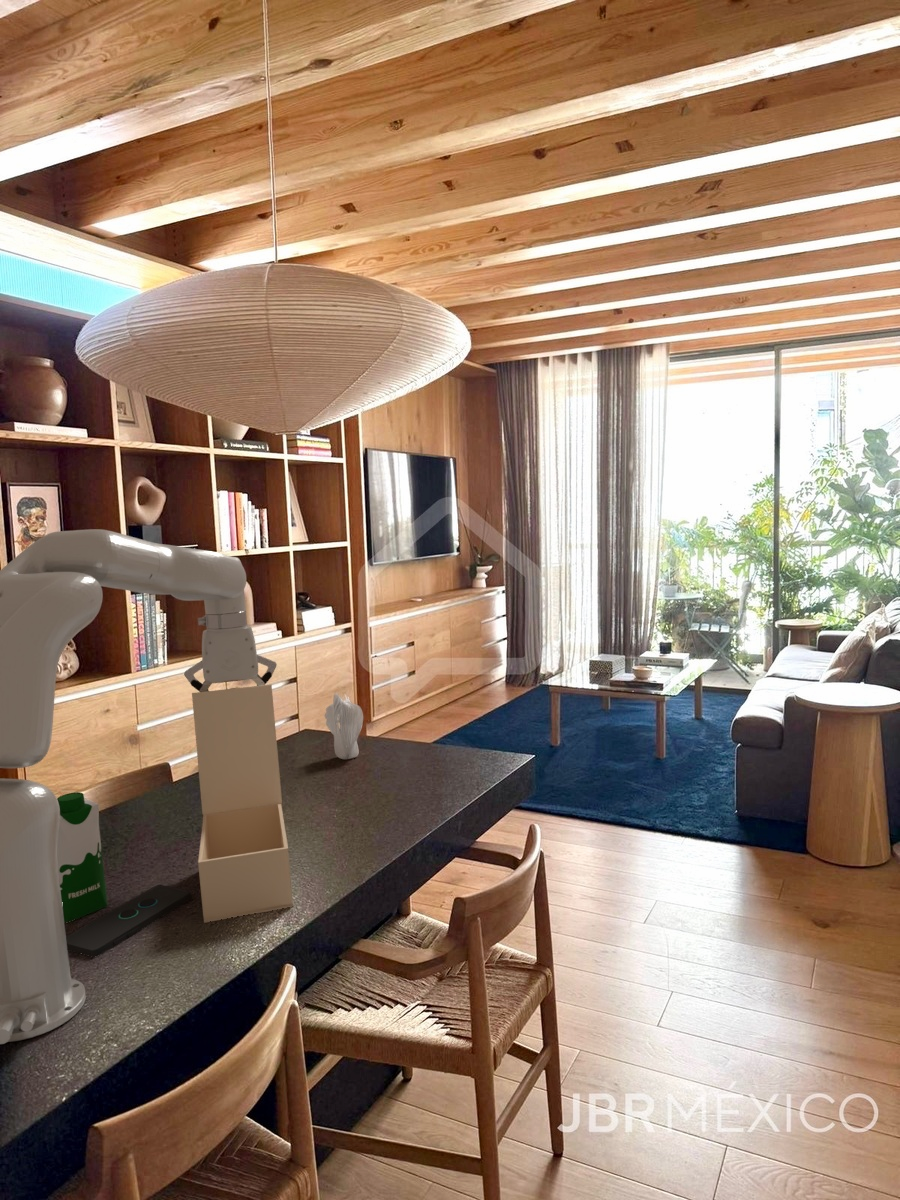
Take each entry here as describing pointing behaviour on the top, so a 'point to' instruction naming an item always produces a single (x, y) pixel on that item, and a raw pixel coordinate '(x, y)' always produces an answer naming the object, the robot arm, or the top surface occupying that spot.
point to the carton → (244, 863)
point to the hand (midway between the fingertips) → (234, 709)
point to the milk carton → (80, 857)
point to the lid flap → (236, 748)
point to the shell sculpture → (344, 726)
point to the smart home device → (126, 920)
